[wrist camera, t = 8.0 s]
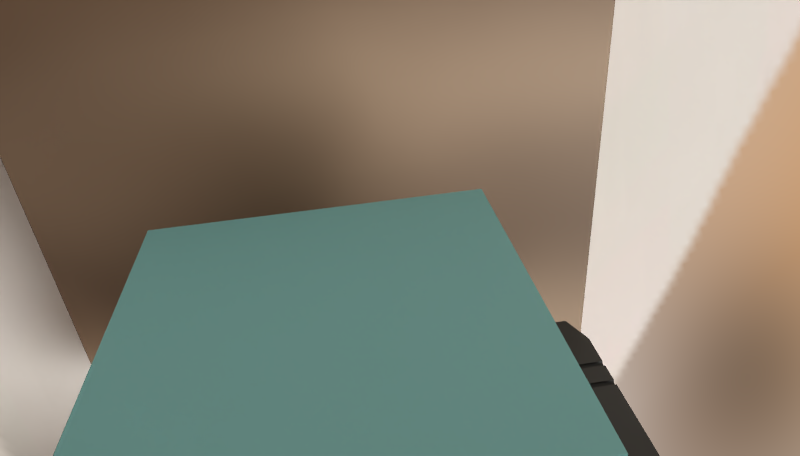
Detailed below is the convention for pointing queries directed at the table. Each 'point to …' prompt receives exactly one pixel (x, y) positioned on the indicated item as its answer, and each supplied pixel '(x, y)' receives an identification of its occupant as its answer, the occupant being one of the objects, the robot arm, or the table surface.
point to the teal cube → (337, 343)
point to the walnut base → (298, 122)
